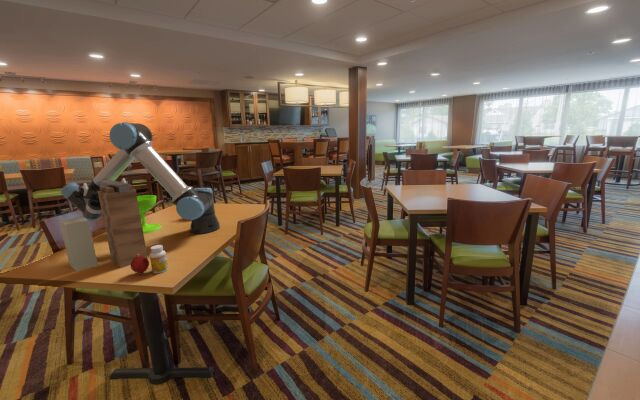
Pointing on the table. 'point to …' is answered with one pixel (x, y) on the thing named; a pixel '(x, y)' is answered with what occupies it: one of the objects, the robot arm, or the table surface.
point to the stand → (122, 225)
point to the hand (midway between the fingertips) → (106, 183)
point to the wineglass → (144, 205)
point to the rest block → (78, 243)
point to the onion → (139, 264)
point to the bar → (116, 185)
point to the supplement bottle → (158, 259)
